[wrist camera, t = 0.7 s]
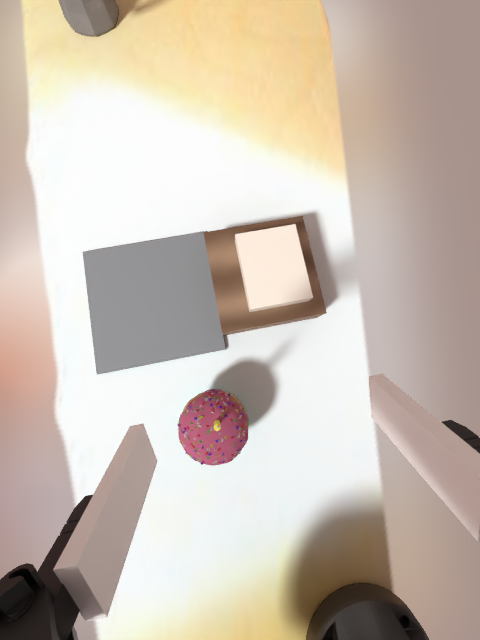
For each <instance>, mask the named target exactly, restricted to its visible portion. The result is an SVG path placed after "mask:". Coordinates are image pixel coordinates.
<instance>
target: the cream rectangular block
mask: <svg viewBox="0 0 480 640" xmlns="http://www.w3.org/2000/svg"><path fill="white" fill-rule="evenodd" d="M235 244H236V249H237V254H238V259H239V263H240V268H241V273H242V278H243V283H244V288H245V293H246V298H247V303H248V307H249V312H253V311H259V310H264V309H269V308H275V307H280V306H285V305H291V304H296V303H301V302H306V301H309V300H311V299H312V298H313V295H312V291H311V286H310V282H309V278H308V274H307V270H306V266H305V262H304V258H303V253H302V249H301V245H300V241H299V237H298V233H297V229H296V225H295V224H293V225H287V226H281V227H275V228H269V229H263V230H257V231H251V232H246V233H240V234H235Z"/></svg>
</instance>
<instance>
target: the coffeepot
mask: <svg viewBox="0 0 480 640" xmlns="http://www.w3.org/2000/svg"><path fill="white" fill-rule="evenodd" d="M59 3H60V6H61V9H62V11H63V14H64V17H65V18H66V20H67V21H68V23H69V24H70V26H71V27H72V28H73V30H74V31H75V32H77V33H79V34H81V35H85V36H99V35H103V34H105V33H107V32H109V31H110V30H111V29H112V28H113V27H114V26H115V25H116V22H117V19H118V12H119V9H118V7H117V5H116V2H115V0H59Z"/></svg>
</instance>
